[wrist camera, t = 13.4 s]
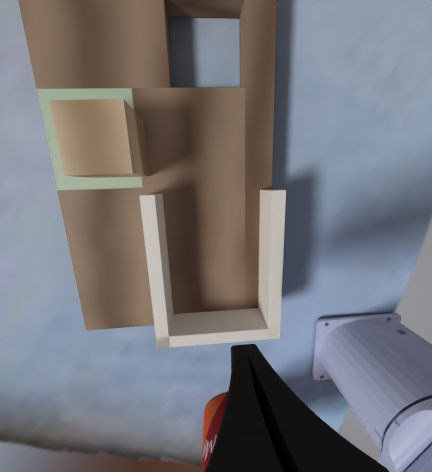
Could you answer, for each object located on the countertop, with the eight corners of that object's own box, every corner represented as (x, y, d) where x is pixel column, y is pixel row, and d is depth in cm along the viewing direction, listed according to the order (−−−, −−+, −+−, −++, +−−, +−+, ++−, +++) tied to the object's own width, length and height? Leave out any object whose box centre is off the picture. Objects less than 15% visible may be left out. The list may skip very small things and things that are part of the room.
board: (268, -6, 16) (277, -32, 14) (262, 305, 22) (268, 316, 20) (34, -11, 15) (10, -40, 13) (96, 317, 21) (86, 330, 19)
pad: (139, 99, 17) (131, 88, 15) (148, 187, 19) (142, 187, 17) (55, 99, 17) (37, 88, 15) (72, 190, 18) (57, 190, 16)
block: (143, 120, 16) (123, 98, 12) (149, 176, 17) (132, 173, 13) (88, 121, 15) (49, 100, 12) (97, 178, 16) (64, 175, 12)
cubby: (271, 189, 18) (286, 190, 15) (268, 316, 20) (279, 338, 17) (149, 193, 17) (139, 195, 14) (163, 324, 20) (157, 348, 17)
